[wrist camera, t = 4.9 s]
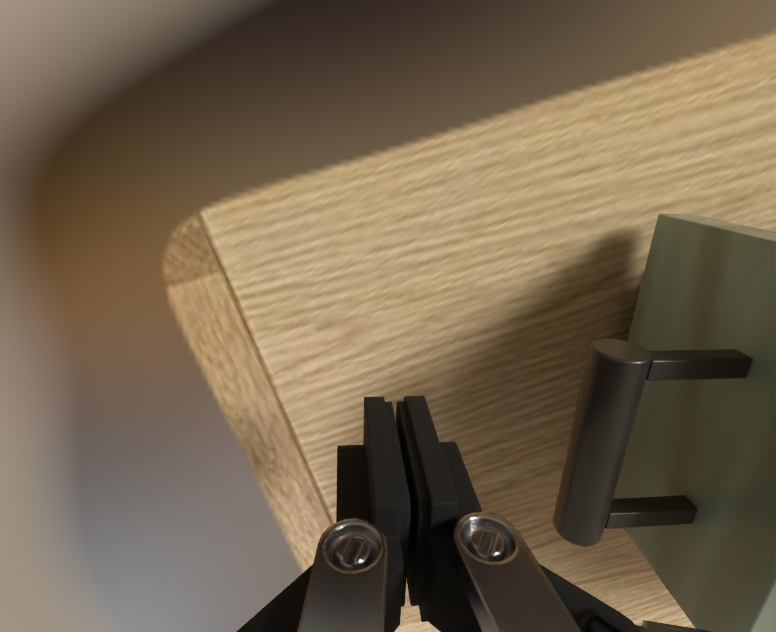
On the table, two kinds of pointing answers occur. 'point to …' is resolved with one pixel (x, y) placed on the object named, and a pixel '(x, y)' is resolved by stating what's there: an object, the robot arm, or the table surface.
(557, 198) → the table surface
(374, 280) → the table surface
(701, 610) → the drawer
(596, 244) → the table surface
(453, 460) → the robot arm
